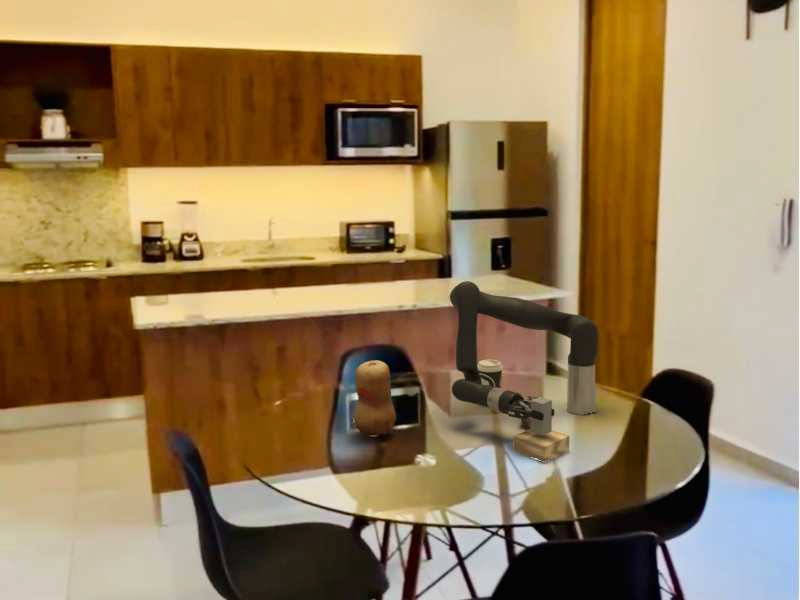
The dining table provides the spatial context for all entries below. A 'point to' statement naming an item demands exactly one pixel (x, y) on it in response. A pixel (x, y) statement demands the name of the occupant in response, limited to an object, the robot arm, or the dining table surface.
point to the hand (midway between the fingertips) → (548, 415)
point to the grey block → (545, 408)
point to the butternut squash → (374, 399)
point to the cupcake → (527, 421)
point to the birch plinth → (541, 444)
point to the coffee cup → (490, 372)
